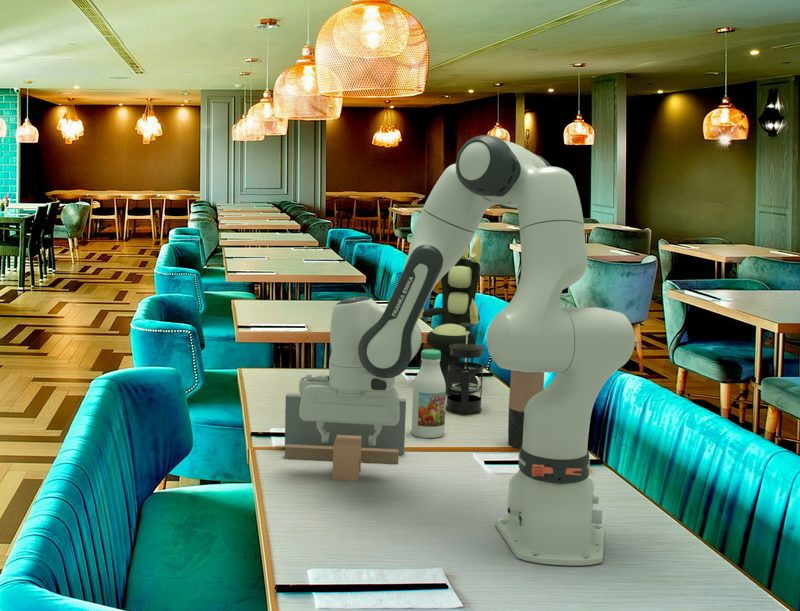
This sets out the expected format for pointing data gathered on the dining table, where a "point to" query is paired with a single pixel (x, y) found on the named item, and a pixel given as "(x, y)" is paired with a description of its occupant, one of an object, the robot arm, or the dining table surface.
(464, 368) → the french press
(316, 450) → the cleat board
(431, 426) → the milk bottle
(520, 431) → the travel mug
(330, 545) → the dining table surface
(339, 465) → the block
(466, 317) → the miniature padded chair
